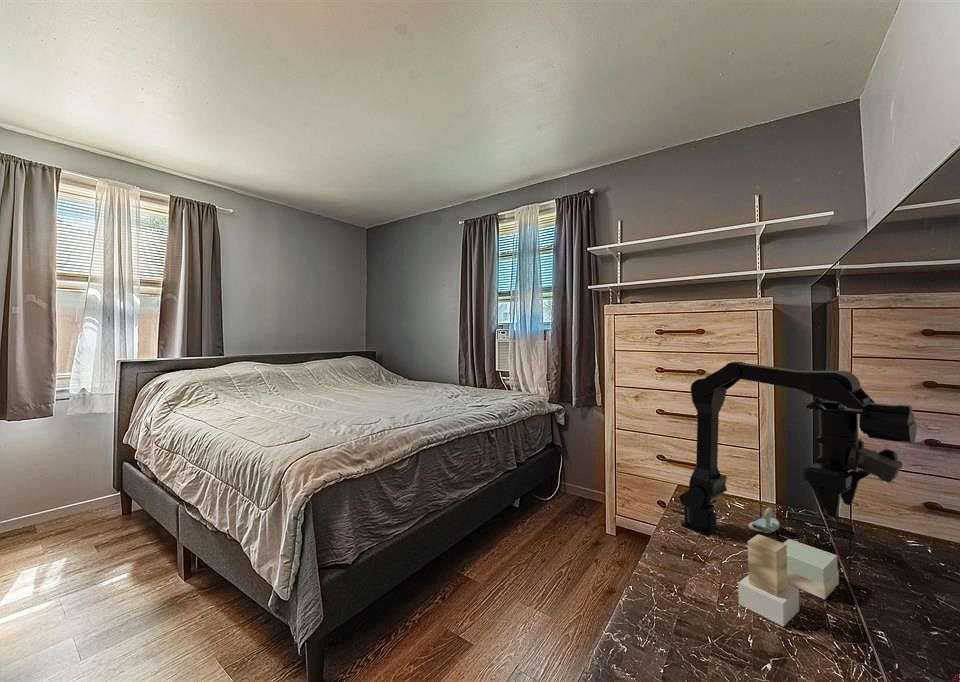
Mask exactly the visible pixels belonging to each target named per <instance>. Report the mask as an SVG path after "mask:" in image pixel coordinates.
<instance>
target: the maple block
mask: <svg viewBox="0 0 960 682" xmlns="http://www.w3.org/2000/svg"><path fill="white" fill-rule="evenodd" d="M747 566H748V567H747V568H748V573H747V574H748V575H749V584H750V585H752V586H755V587H757V588H759V589H761V590H763V591H765V592H768V593H770V594H772V595H774V596H776V597H778V596H779V595H780V594H781V593H782V592H783V591H784V590H786V589H787V588H788V581H787V544H784V542H781V541H778V540H776V539H773V538H771V537H767V536H764V535H761V534H759V533H758V534H756V535H755V536H753V537H752V538H750V539H749V540H748V541H747Z"/></svg>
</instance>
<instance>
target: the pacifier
mask: <svg viewBox="0 0 960 682" xmlns="http://www.w3.org/2000/svg"><path fill="white" fill-rule="evenodd" d="M773 515H774V511H773V509H772V508H771V507H770V506H768V507H767V508H766V510H765V511H764V513H763V517H762V518H759V519H756V520H754V521H752V522H749V524H748V528H749V529H751V530H752V531H753V532H758V533H759V532H760V533H764V534H771V533H773V532H774V533H775V532H776V530H778V529H780V527H781V525H780V522H779V520H778V519H776V518H774V517H773ZM754 526H755V527H754Z"/></svg>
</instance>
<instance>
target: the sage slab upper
mask: <svg viewBox="0 0 960 682" xmlns="http://www.w3.org/2000/svg"><path fill="white" fill-rule="evenodd" d="M783 543H784V544H787V570H788V571H790V572H793V573H795V574H798V575H800V576H803V577H805V578H808V579H810V580H813V581H815V582H818V583H820V584H823V585H824V584H825V583H826V582H827V581H828V580H829V579H830V578H831V577H832V576H833V575H834V573H835V572H836V571H839V570H838V568H839V567H838V555H837V554H834V553H831V552H829V551H826V550H822V549H819V548H817V547H814V546H812V545H811V546H810V545H808V544H805V543H801V542H799V541H796V540H793V539H790V538H787V540H785V541H784V542H783Z"/></svg>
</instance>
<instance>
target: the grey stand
mask: <svg viewBox="0 0 960 682" xmlns="http://www.w3.org/2000/svg"><path fill="white" fill-rule="evenodd" d="M737 587H738V590H737V592H738V605H741V606H742V607H744V608H746V609H748V610H750V611H752V612H754V613H756V614H758V615H759V616H761V617H764V618H766V619H767V620H769V621H772V622H774V623H775V624H777V625H779V626H781V627H783V628H784V627H785V626H786V625H787V624H788V623H789V622H790V621H791V620H792V619H793V618H794V617H795V616H796V615H797V614H798V613H799V611H800V589H799V588H797V587H795V586H792V585H790V584H788V588H787V589H786V590H784V591H783V592H782V593H781V594H780V595H779V596H778V597H776V596H774V595H772V594H770V593H768V592H765V591H763V590H761V589H759V588H757V587H755V586H752V585H750V584H749V574H748V575H745V577H744V578H742V580H740V581H738V584H737Z"/></svg>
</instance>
